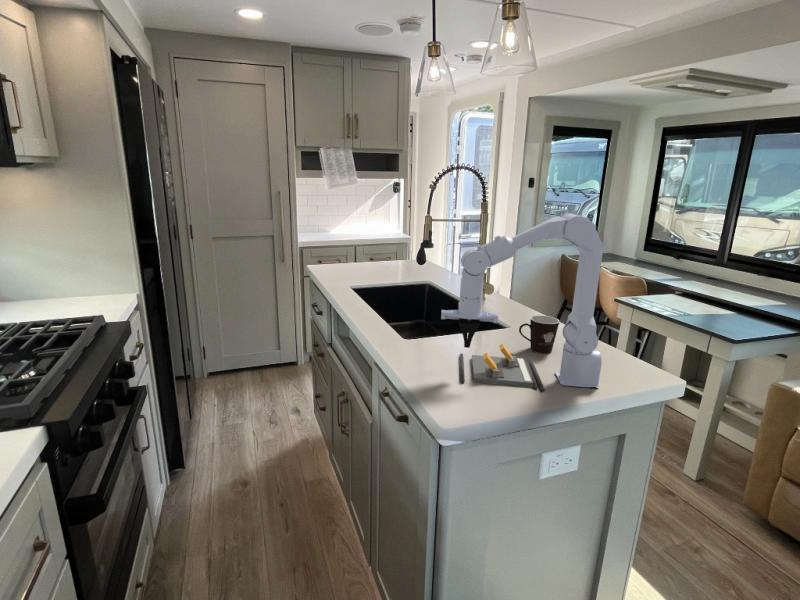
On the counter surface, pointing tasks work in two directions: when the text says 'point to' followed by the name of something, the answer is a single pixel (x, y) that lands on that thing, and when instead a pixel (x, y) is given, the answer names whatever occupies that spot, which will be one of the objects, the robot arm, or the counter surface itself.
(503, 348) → the breaker lever
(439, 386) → the counter surface
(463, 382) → the cord far
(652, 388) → the counter surface
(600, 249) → the robot arm
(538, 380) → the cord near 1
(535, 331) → the coffee mug
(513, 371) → the breaker panel
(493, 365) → the breaker lever
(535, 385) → the dark long thin strip
